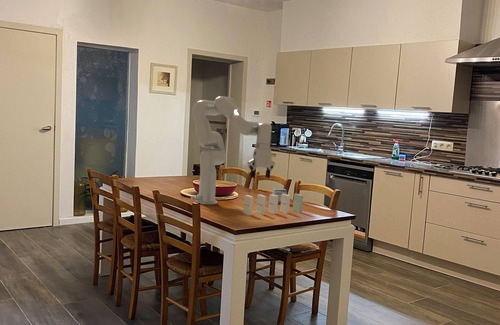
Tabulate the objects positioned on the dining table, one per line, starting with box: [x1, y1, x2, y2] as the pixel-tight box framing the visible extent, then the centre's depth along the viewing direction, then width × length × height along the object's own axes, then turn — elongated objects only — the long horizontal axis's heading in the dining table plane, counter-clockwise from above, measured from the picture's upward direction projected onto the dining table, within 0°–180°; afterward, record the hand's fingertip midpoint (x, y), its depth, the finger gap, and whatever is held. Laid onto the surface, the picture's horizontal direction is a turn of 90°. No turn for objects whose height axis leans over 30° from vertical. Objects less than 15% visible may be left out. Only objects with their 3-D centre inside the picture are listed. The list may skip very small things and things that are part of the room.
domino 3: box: [267, 193, 279, 215], centre depth 271 cm, size 2×6×10 cm, turn 30°
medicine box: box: [272, 188, 288, 205], centre depth 303 cm, size 8×4×9 cm, turn 101°
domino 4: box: [279, 194, 291, 214], centre depth 275 cm, size 2×6×10 cm, turn 30°
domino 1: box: [243, 194, 254, 216], centre depth 263 cm, size 2×6×10 cm, turn 30°
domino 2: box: [255, 194, 267, 216], centre depth 267 cm, size 2×6×10 cm, turn 31°
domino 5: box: [292, 193, 304, 214], centre depth 279 cm, size 2×6×10 cm, turn 30°
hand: (260, 177), depth 265 cm, fingers open, 9 cm apart
